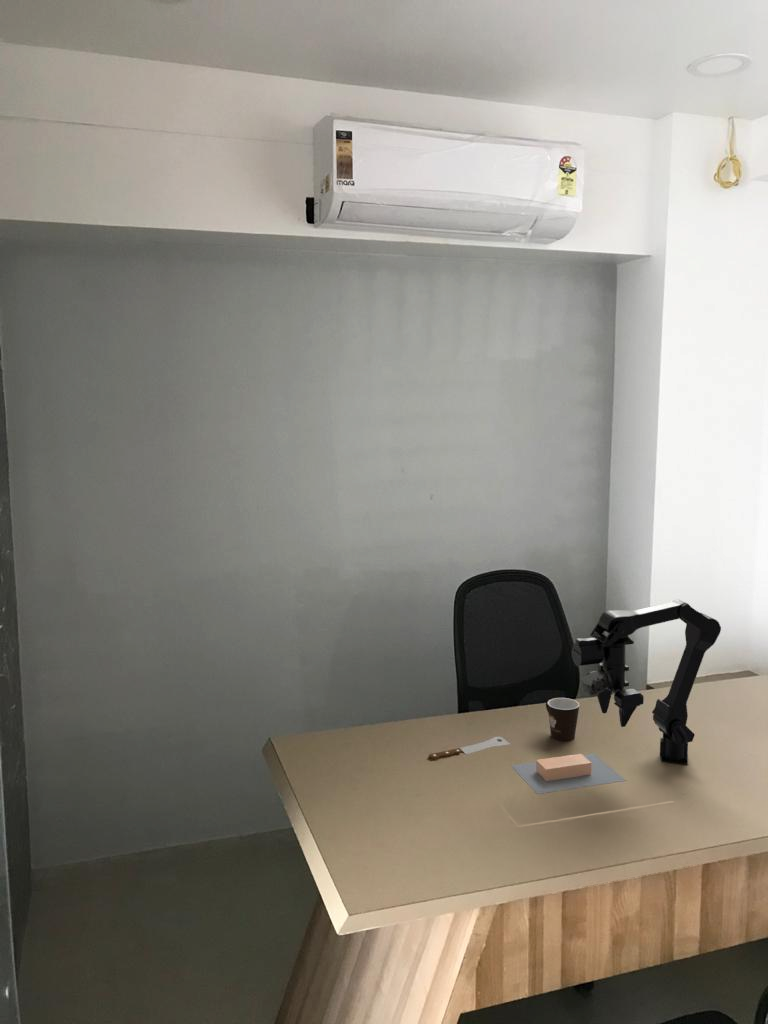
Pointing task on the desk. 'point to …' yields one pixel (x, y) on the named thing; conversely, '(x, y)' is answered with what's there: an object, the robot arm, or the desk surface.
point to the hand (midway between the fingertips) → (613, 719)
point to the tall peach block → (563, 767)
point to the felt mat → (597, 777)
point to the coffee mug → (562, 718)
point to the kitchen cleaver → (469, 748)
